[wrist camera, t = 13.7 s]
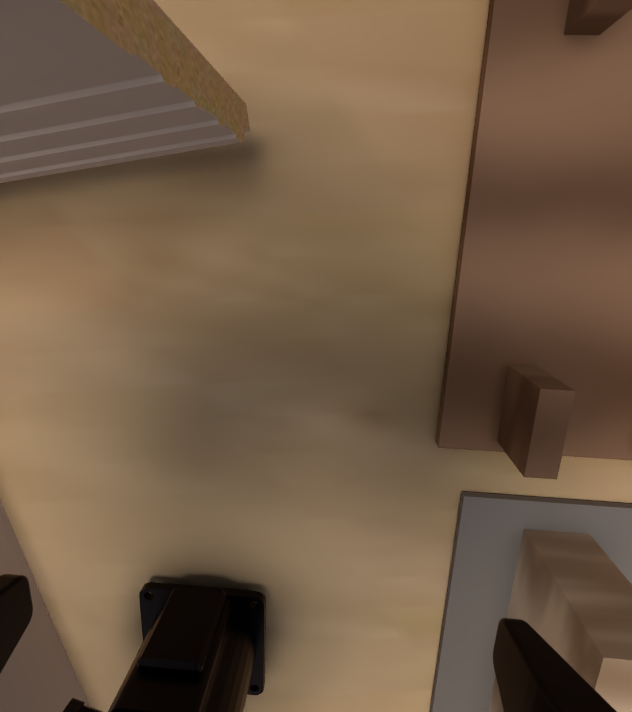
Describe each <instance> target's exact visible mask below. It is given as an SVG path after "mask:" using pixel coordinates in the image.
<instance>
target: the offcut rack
mask: <svg viewBox="0 0 632 712" xmlns="http://www.w3.org/2000/svg"><path fill="white" fill-rule="evenodd" d="M436 443H437V445H438V448H454V449H469V450H484V451H499V452H506V454H507V455H508V456H509V458H510V459H511V460H512V462H513V463H514V464H515V466H516V467H517V468H518V470H519V471H520V472H521V474H522V475H523V476H524V477H532V478H546V479H557V476H558V472H559V467H560V462H561V457H562V456H575V457H590V458H605V459H620V460H632V0H490V6H489V14H488V22H487V30H486V38H485V46H484V54H483V62H482V71H481V79H480V87H479V95H478V103H477V111H476V119H475V127H474V135H473V144H472V152H471V160H470V168H469V176H468V184H467V192H466V200H465V208H464V217H463V225H462V233H461V241H460V249H459V257H458V265H457V273H456V281H455V290H454V298H453V306H452V314H451V322H450V330H449V338H448V346H447V354H446V363H445V371H444V379H443V387H442V395H441V403H440V411H439V419H438V427H437V436H436Z"/></svg>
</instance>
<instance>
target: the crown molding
mask: <svg viewBox="0 0 632 712" xmlns="http://www.w3.org/2000/svg"><path fill="white" fill-rule="evenodd" d="M3 574H16V575H24V576H26V577H27V578H28V580H29V585H30V592H31V598H32V604H33V614H32V618H31V621H30V623H29V625H28V627H27V628H26V630H25V632H24V634H23V635H22V637H21V639H20V641H19V642H18V644H17V646H16V648H15V649H14V651H13V653H12V654H11V656H10V658H9V660H8V661H7V663H6V665H5V667H4V668H3V670H2V672H1V674H0V712H63V710H64V709H65V707H66V706H67V705H68V703H69V702H70V700H71V699H72V698H75V699H78V700H81V701H83V702H85V704H84V705H85V706H88V703H87V701H86V699H85V696H84V694H83V692H82V689H81V687H80V685H79V682H78V680H77V678H76V675H75V673H74V671H73V668H72V666H71V664H70V661H69V659H68V657H67V654H66V652H65V650H64V648H63V645H62V643H61V641H60V638H59V636H58V634H57V631H56V629H55V627H54V624H53V622H52V620H51V617H50V615H49V613H48V610H47V608H46V606H45V603H44V601H43V599H42V596H41V594H40V592H39V589H38V587H37V585H36V582H35V580H34V578H33V575H32V573H31V571H30V568H29V566H28V564H27V561H26V559H25V557H24V554H23V552H22V550H21V547H20V545H19V543H18V541H17V538H16V536H15V534H14V531H13V529H12V527H11V524H10V522H9V520H8V517H7V515H6V513H5V510H4V508H3V506H2V503H1V501H0V576H1V575H3ZM88 707H89V706H88Z"/></svg>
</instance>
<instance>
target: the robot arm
mask: <svg viewBox="0 0 632 712" xmlns="http://www.w3.org/2000/svg"><path fill="white" fill-rule="evenodd" d="M149 592H150V593H152V594H150V593H149ZM139 597H140V609H141V621H142V633H143V643H142V645H141V647H140V649H139V651H138V653H137V655H136V657H135V659H134V661H133V663H132V665H131V667H130V669H129V671H128V673H127V675H126V677H125V679H124V681H123V683H122V685H121V687H120V689H119V691H118V693H117V695H116V697H115V699H114V701H113V703H112V705H111V707H110V709H109V711H108V712H243V711H244V706H245V702H246V697H247V694H249V695H259V694H261V693H262V692H263V689H264V684H265V624H266V599H265V596H264V595H263V594H262V593H260V592H257V591H248V590H236V589H225V588H213V587H201V586H190V585H178V584H166V583H155V582H148V583H146V584H145V585H144V586H143V588H142V590H141V591H140V594H139ZM253 601H255V602H258V603H254V602H253ZM32 614H33V604H32V598H31V592H30V585H29V580H28V578H27V577H26V576H24V575H16V574H3V575H1V576H0V674H1V672H2V670H3V668H4V667H5V665H6V663H7V661H8V660H9V658H10V656H11V654H12V653H13V651H14V649H15V648H16V646H17V644H18V642H19V641H20V639H21V637H22V635H23V634H24V632H25V630H26V628H27V627H28V625H29V623H30V621H31V618H32ZM493 666H494V671H495V675H496V680H497V684H498V688H499V693H500V697H501V702H502V706H503V711H504V712H617V711H616V710H615V709H614V708H613V707H612V706H611V705H610V704H609V703H608V702H607V701H606V700H605V699H604V698H603V697H602V696H601V695H600V694H599V693H598V692H597V691H596V690H595V689H594V688H593V687H592V686H591V685H590V684H589V683H588V682H587V681H586V680H585V679H584V678H583V677H582V676H581V675H580V674H579V673H578V672H576V671H575V670H574V669H573V668H572V667H571V666H570V665H569V664H568V663H567V662H566V661H565V660H564V659H563V658H562V657H561V656H560V655H559V654H558V653H557V652H556V651H555V650H554V649H553V648H552V647H551V646H550V645H549V644H548V643H547V642H546V641H545V640H544V639H543V638H542V637H541V636H540V635H539V634H538V633H537V632H536V631H535V630H534V629H533V628H532V627H531V626H530V625H529V624H528V623H527V622H525V621H524V620H521V619H512V618H502V619H500V621H499V623H498V628H497V633H496V638H495V643H494V649H493ZM84 704H85V702H83V701H81V700H78V699H75V698H72V699H71V700H70V702H69V703H68V705H67V706H66V707H65V709H64V710H63V712H102V711H99V710H96V709H94V708H91V707H88V706H85V705H84Z"/></svg>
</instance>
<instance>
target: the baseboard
mask: <svg viewBox="0 0 632 712" xmlns="http://www.w3.org/2000/svg"><path fill="white" fill-rule="evenodd" d="M248 131H250V127H249V121H248V114H247V107H246V103H245V102H244V101H243V100H242V99H241V98H240V97H239V95H238V94H237V93H236V92H235V91H234V90H233V89H232V88H231V87H230V85H229V84H228V83H227V82H226V81H225V80H224V79H223V78H222V76H221V75H220V74H219V73H218V72H217V71H216V70H215V69H214V67H213V66H212V65H211V64H210V63H209V62H208V61H207V60H206V59H205V57H204V56H203V55H202V54H201V53H200V52H199V51H198V50H197V48H196V47H195V46H194V45H193V44H192V43H191V42H190V41H189V39H188V38H187V37H186V36H185V35H184V34H183V33H182V32H181V31H180V29H179V28H178V27H177V26H176V25H175V24H174V23H173V22H172V20H171V19H170V18H169V17H168V16H167V15H166V14H165V13H164V11H163V10H162V9H161V8H160V7H159V6H158V5H157V4H156V3H155V1H154V0H0V183H5V182H11V181H17V180H23V179H29V178H35V177H41V176H46V175H52V174H58V173H64V172H70V171H76V170H82V169H88V168H94V167H100V166H106V165H111V164H117V163H123V162H129V161H135V160H141V159H147V158H153V157H159V156H165V155H171V154H177V153H182V152H188V151H194V150H200V149H206V148H212V147H218V146H224V145H230V144H236V143H242V142H243V136H244V132H248Z"/></svg>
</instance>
